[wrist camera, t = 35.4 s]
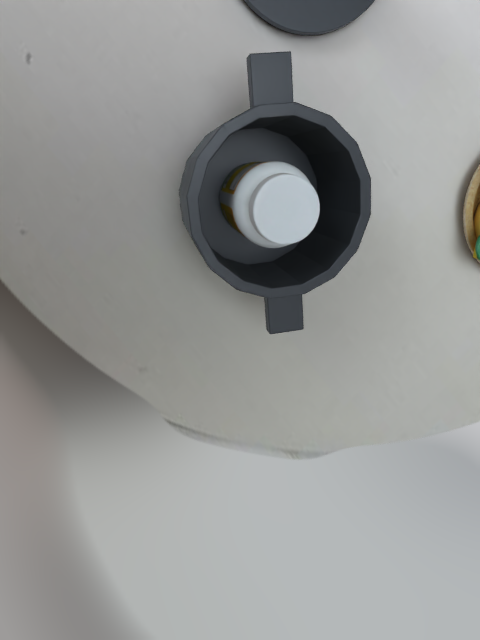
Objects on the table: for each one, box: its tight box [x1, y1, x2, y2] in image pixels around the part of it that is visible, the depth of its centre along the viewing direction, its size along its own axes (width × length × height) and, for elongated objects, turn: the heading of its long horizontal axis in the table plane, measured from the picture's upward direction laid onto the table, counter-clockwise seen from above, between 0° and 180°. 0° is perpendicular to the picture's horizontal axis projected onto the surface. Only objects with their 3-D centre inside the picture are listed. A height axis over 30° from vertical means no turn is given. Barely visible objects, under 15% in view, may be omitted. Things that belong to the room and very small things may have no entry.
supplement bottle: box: [219, 161, 320, 248], centre depth 31 cm, size 5×5×10 cm
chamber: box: [179, 52, 371, 334], centre depth 32 cm, size 11×17×8 cm
